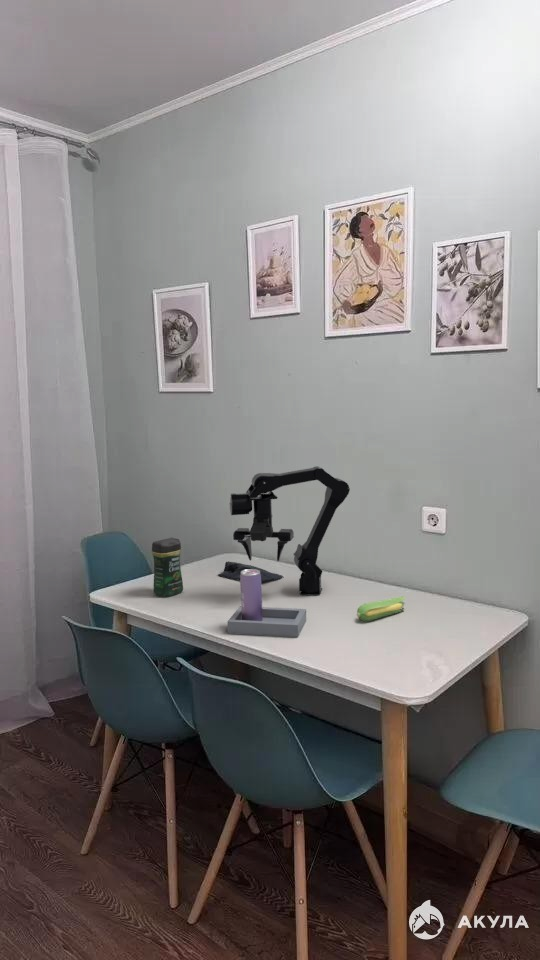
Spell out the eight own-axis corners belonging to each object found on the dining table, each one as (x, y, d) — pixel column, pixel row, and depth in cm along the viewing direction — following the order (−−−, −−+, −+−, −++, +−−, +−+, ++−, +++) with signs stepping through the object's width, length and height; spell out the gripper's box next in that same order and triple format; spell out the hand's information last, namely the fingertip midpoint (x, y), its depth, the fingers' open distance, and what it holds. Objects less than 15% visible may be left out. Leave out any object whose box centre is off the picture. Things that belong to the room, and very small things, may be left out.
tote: (306, 620, 203) (306, 609, 202) (298, 637, 190) (297, 625, 190) (240, 617, 208) (239, 606, 207) (228, 633, 195) (227, 621, 194)
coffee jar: (165, 599, 226) (162, 543, 224) (150, 594, 232) (146, 540, 229) (187, 591, 234) (184, 537, 231) (172, 587, 239) (169, 534, 236)
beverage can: (265, 624, 198) (263, 573, 196) (245, 627, 197) (243, 575, 194) (259, 617, 204) (257, 567, 202) (239, 620, 202) (237, 570, 200)
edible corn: (351, 606, 202) (360, 605, 198) (402, 594, 213) (412, 593, 209) (354, 623, 202) (364, 623, 198) (405, 611, 212) (415, 611, 208)
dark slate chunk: (255, 589, 236) (254, 575, 235) (214, 576, 252) (214, 563, 251) (287, 579, 246) (287, 566, 245) (246, 567, 262) (246, 555, 261)
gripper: (227, 517, 216) (229, 566, 219) (286, 518, 212) (287, 568, 214) (237, 510, 227) (239, 557, 229) (293, 511, 223) (294, 558, 225)
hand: (264, 560), depth 224 cm, fingers open, 9 cm apart
